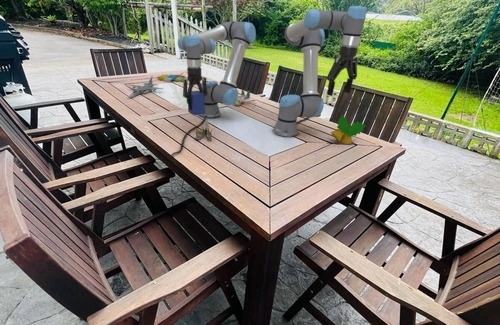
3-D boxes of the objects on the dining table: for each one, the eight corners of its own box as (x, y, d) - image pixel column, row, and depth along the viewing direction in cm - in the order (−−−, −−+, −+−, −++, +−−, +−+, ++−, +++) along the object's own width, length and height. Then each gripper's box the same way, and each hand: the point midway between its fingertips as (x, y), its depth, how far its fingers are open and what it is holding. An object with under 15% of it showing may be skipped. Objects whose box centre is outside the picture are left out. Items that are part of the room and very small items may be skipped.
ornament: (349, 145, 167) (356, 122, 165) (358, 147, 159) (366, 123, 158) (324, 137, 159) (331, 113, 157) (333, 139, 151) (341, 114, 149)
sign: (184, 80, 268) (154, 78, 265) (184, 82, 269) (154, 80, 266) (187, 75, 290) (160, 74, 287) (187, 76, 291) (160, 75, 288)
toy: (261, 91, 228) (254, 99, 202) (261, 99, 231) (253, 108, 205) (231, 87, 233) (220, 95, 207) (230, 95, 236) (219, 104, 210)
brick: (198, 110, 159) (197, 90, 153) (204, 113, 154) (203, 93, 148) (188, 111, 155) (187, 91, 149) (193, 115, 150) (192, 94, 144)
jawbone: (214, 123, 159) (213, 113, 150) (213, 145, 152) (211, 136, 143) (199, 123, 159) (196, 113, 150) (197, 144, 152) (194, 135, 143)
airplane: (122, 88, 234) (120, 76, 229) (158, 85, 247) (157, 74, 242) (127, 100, 206) (124, 88, 201) (167, 97, 219) (166, 85, 214)
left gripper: (206, 64, 149) (207, 104, 161) (173, 67, 139) (177, 108, 150) (213, 67, 144) (214, 107, 156) (180, 69, 133) (183, 112, 145)
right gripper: (358, 45, 126) (347, 89, 136) (324, 45, 113) (315, 94, 123) (372, 47, 121) (360, 93, 131) (338, 47, 107) (328, 98, 118)
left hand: (196, 108), depth 153 cm, fingers closed on brick, 7 cm apart
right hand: (338, 93), depth 127 cm, fingers open, 13 cm apart
